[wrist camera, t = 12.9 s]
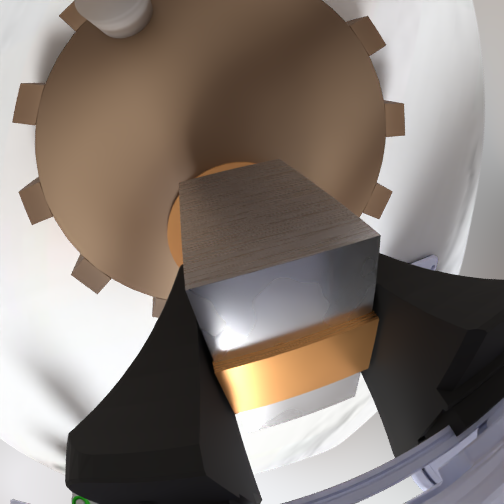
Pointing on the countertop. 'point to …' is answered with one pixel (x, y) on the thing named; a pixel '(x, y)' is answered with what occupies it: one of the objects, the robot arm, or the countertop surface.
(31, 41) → the countertop surface
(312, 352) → the white banded box
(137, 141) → the brown gear wheel
